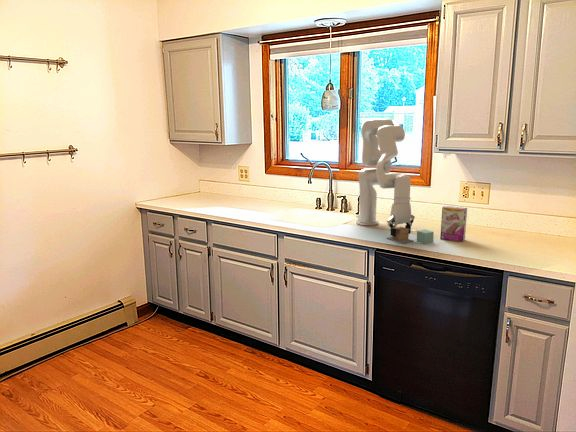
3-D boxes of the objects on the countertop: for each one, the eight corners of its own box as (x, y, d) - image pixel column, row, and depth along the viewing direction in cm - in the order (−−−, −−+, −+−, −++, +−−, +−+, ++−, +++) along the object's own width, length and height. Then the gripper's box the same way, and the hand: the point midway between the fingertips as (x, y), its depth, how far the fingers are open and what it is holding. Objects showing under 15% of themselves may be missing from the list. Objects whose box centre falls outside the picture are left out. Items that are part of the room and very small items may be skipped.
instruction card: (403, 229, 257) (403, 228, 257) (409, 228, 259) (409, 227, 259) (411, 231, 252) (411, 230, 252) (417, 230, 254) (417, 229, 254)
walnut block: (392, 238, 236) (392, 227, 235) (400, 237, 239) (400, 226, 238) (400, 241, 232) (400, 230, 230) (408, 239, 234) (408, 228, 233)
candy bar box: (439, 239, 236) (441, 207, 233) (442, 237, 240) (444, 205, 237) (463, 242, 230) (465, 209, 227) (465, 239, 235) (467, 207, 231)
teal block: (416, 241, 232) (416, 230, 231) (424, 240, 235) (425, 229, 234) (424, 244, 228) (425, 233, 227) (433, 242, 230) (433, 231, 229)
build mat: (386, 238, 239) (386, 237, 239) (397, 236, 242) (397, 235, 242) (403, 243, 229) (403, 242, 228) (414, 241, 232) (414, 240, 232)
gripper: (409, 197, 239) (407, 230, 242) (383, 201, 230) (381, 235, 234) (420, 199, 232) (418, 233, 236) (393, 203, 224) (392, 238, 227)
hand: (400, 234), depth 235 cm, fingers open, 9 cm apart
